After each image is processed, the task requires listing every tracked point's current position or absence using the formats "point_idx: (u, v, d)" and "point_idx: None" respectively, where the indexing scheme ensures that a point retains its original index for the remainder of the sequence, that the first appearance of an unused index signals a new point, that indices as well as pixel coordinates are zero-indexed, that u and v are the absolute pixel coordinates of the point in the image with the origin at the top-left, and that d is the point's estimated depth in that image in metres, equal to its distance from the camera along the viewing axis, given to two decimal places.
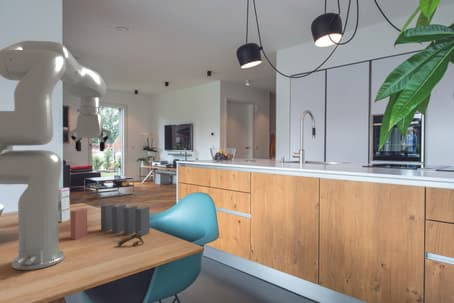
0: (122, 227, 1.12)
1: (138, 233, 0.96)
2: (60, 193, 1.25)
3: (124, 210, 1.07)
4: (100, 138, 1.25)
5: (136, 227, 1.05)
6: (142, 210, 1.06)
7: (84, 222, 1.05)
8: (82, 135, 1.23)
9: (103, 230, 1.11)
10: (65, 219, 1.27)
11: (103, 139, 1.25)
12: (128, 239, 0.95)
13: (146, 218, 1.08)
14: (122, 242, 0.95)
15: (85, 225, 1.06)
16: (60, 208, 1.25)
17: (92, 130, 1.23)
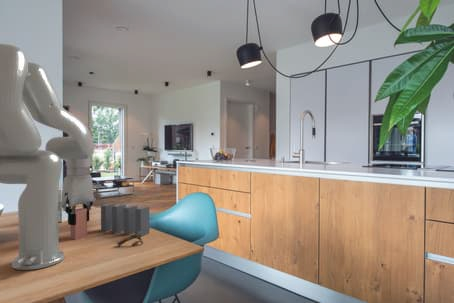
0: (122, 227, 1.12)
1: (137, 233, 0.96)
2: (60, 193, 1.25)
3: (124, 210, 1.07)
4: None
5: (136, 227, 1.05)
6: (142, 210, 1.06)
7: (84, 222, 1.05)
8: None
9: (103, 230, 1.11)
10: (65, 219, 1.27)
11: None
12: (127, 239, 0.95)
13: (146, 218, 1.08)
14: (121, 242, 0.95)
15: (85, 225, 1.06)
16: (60, 208, 1.25)
17: None
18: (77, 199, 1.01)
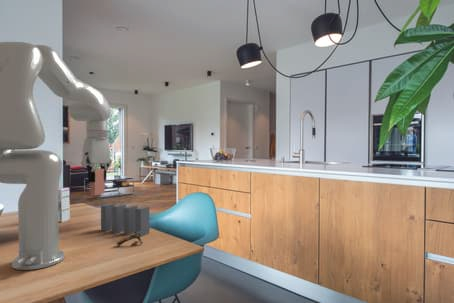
0: (122, 227, 1.12)
1: (137, 233, 0.96)
2: (60, 193, 1.25)
3: (124, 210, 1.07)
4: None
5: (136, 227, 1.05)
6: (142, 210, 1.06)
7: (102, 181, 1.16)
8: None
9: (103, 230, 1.11)
10: (65, 219, 1.27)
11: None
12: (127, 239, 0.95)
13: (146, 218, 1.08)
14: (121, 242, 0.95)
15: (103, 183, 1.17)
16: (60, 208, 1.25)
17: None
18: (96, 158, 1.12)
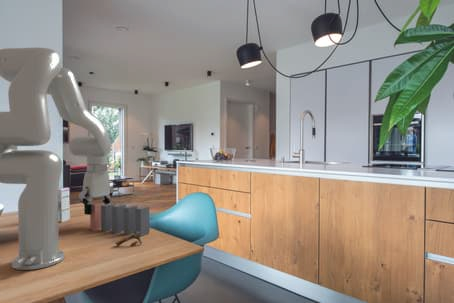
0: (122, 227, 1.12)
1: (136, 233, 0.96)
2: (60, 193, 1.25)
3: (124, 210, 1.07)
4: None
5: (136, 227, 1.05)
6: (142, 210, 1.06)
7: None
8: None
9: (103, 230, 1.11)
10: (65, 219, 1.27)
11: None
12: (126, 239, 0.95)
13: (146, 218, 1.08)
14: (120, 242, 0.95)
15: None
16: (60, 208, 1.25)
17: None
18: (96, 192, 1.13)
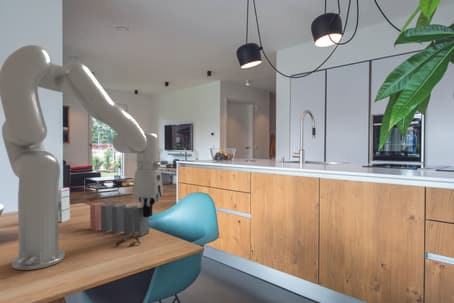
0: (122, 227, 1.12)
1: (135, 233, 0.96)
2: (60, 193, 1.25)
3: (124, 210, 1.07)
4: None
5: (136, 226, 1.06)
6: (140, 209, 1.06)
7: None
8: None
9: (103, 230, 1.11)
10: (65, 219, 1.27)
11: None
12: (125, 239, 0.95)
13: (145, 218, 1.08)
14: (119, 242, 0.94)
15: None
16: (60, 208, 1.25)
17: None
18: (138, 192, 1.05)
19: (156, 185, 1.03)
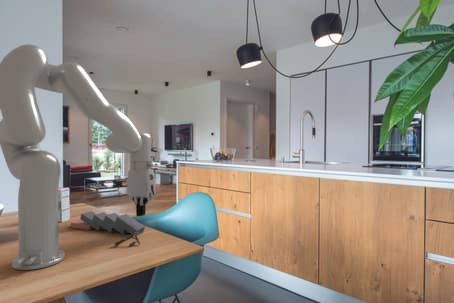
0: None
1: (135, 234, 0.96)
2: (60, 193, 1.25)
3: (105, 220, 1.11)
4: None
5: (128, 229, 1.07)
6: (120, 216, 1.10)
7: None
8: None
9: (98, 227, 1.12)
10: (65, 219, 1.27)
11: None
12: (124, 239, 0.95)
13: (131, 220, 1.11)
14: (118, 242, 0.94)
15: None
16: (60, 208, 1.25)
17: None
18: (131, 191, 1.06)
19: (149, 184, 1.05)
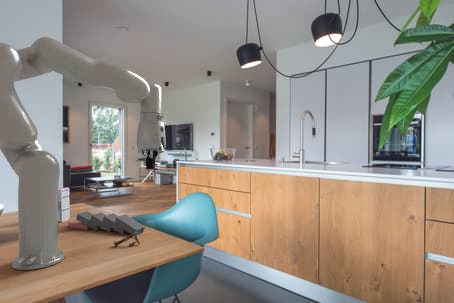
0: None
1: (134, 234, 0.95)
2: (60, 193, 1.25)
3: (104, 221, 1.11)
4: None
5: (128, 229, 1.07)
6: (119, 217, 1.10)
7: None
8: None
9: (95, 227, 1.13)
10: (65, 219, 1.27)
11: None
12: (124, 240, 0.95)
13: (131, 220, 1.11)
14: (118, 242, 0.94)
15: None
16: (60, 208, 1.25)
17: None
18: (141, 143, 1.04)
19: (159, 136, 1.02)
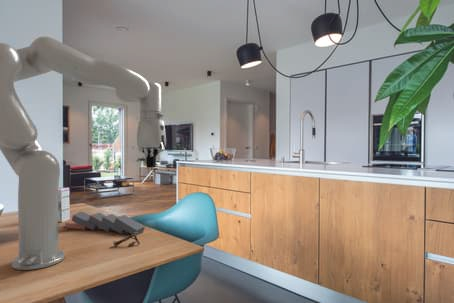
0: None
1: (134, 234, 0.95)
2: (60, 193, 1.25)
3: (103, 222, 1.11)
4: None
5: (128, 230, 1.07)
6: (119, 217, 1.09)
7: None
8: None
9: (93, 227, 1.13)
10: (65, 219, 1.27)
11: None
12: (124, 240, 0.95)
13: (130, 220, 1.11)
14: (118, 243, 0.94)
15: None
16: (60, 208, 1.25)
17: None
18: (141, 142, 1.04)
19: (160, 134, 1.02)
